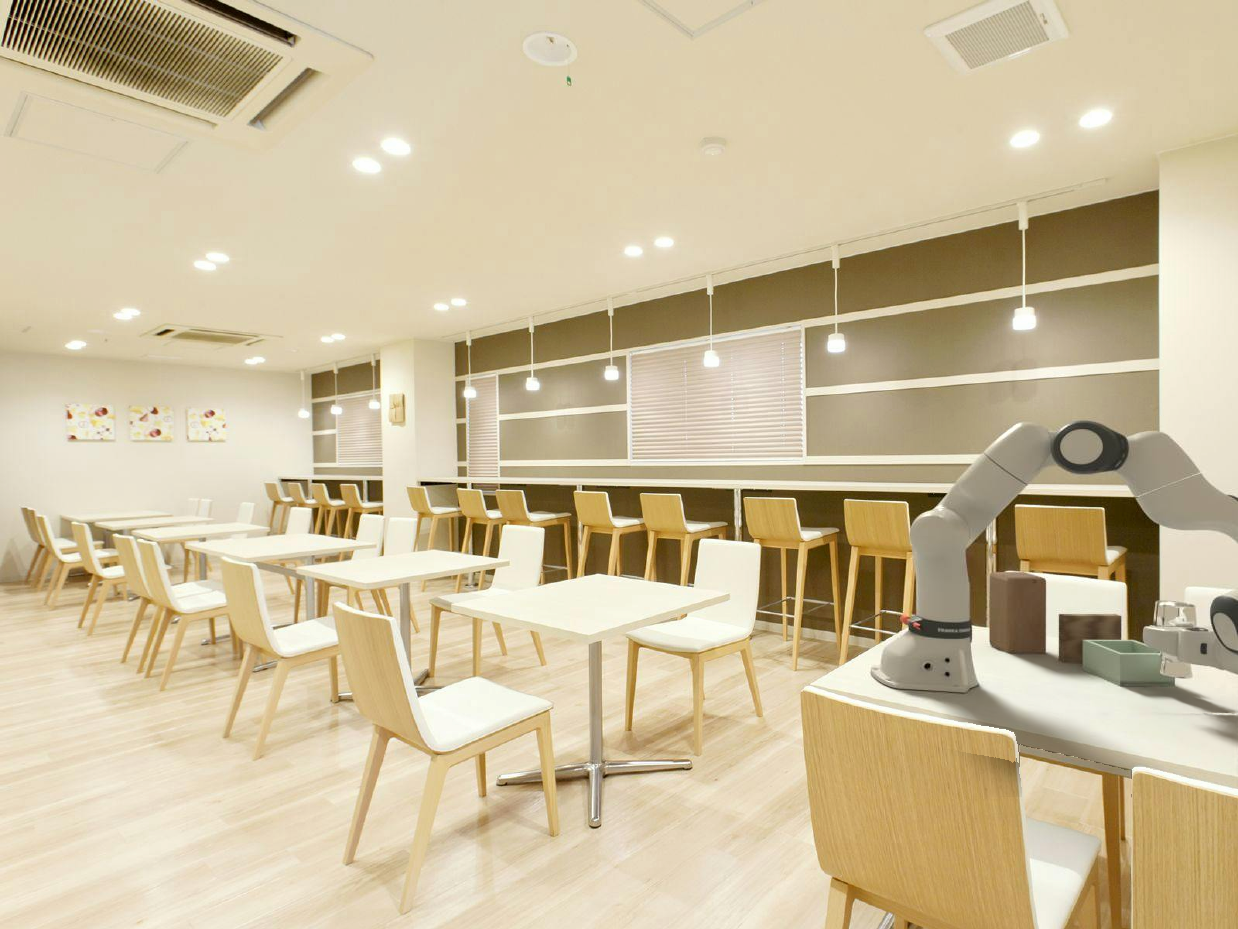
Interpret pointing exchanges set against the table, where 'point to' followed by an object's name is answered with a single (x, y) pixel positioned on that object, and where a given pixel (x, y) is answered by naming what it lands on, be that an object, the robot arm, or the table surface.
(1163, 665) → the beer glass
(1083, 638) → the box
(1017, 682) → the table surface
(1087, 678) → the table surface
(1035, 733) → the table surface
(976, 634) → the table surface
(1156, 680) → the sage green storage bin
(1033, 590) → the wooden block
